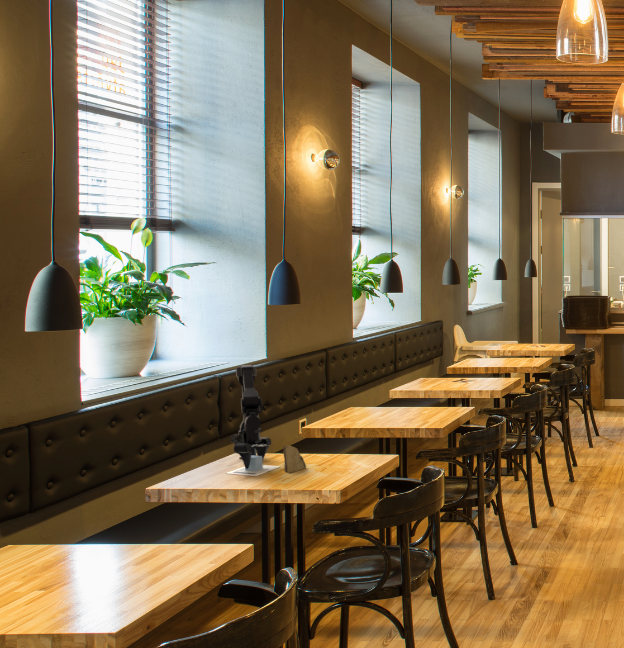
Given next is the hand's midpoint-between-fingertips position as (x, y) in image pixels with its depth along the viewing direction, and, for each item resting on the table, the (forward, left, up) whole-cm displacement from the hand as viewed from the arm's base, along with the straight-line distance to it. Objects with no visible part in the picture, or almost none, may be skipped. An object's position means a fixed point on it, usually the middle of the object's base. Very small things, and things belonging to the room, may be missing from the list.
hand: (253, 466), depth 317 cm
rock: (-5, +16, -2) cm, 17 cm away
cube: (0, 0, -1) cm, 1 cm away
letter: (0, 0, -2) cm, 2 cm away
